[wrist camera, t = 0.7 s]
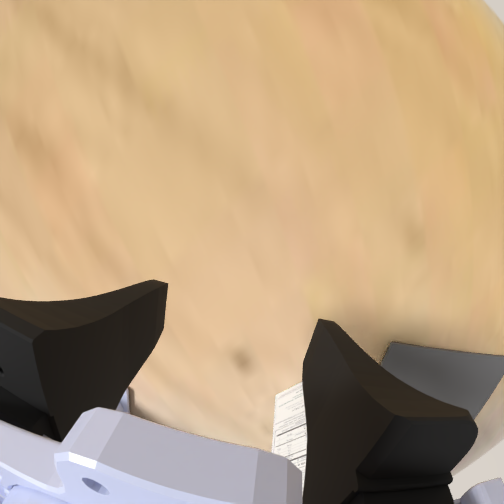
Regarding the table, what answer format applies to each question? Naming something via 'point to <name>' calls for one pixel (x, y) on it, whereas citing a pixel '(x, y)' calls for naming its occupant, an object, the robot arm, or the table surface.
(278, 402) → the syrup box
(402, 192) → the table surface
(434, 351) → the rubber mat
